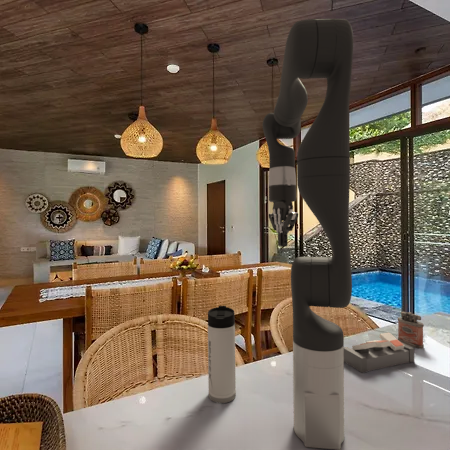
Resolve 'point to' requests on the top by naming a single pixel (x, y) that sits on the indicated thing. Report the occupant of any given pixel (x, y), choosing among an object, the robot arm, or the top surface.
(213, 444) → the top surface
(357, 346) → the rocker near
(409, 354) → the dark grey slotted base
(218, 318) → the travel mug
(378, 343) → the rocker middle
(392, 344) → the rocker far
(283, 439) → the top surface
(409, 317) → the lighter
